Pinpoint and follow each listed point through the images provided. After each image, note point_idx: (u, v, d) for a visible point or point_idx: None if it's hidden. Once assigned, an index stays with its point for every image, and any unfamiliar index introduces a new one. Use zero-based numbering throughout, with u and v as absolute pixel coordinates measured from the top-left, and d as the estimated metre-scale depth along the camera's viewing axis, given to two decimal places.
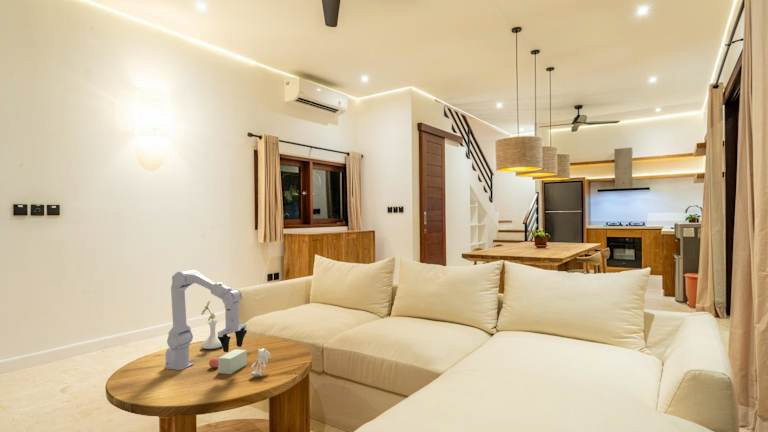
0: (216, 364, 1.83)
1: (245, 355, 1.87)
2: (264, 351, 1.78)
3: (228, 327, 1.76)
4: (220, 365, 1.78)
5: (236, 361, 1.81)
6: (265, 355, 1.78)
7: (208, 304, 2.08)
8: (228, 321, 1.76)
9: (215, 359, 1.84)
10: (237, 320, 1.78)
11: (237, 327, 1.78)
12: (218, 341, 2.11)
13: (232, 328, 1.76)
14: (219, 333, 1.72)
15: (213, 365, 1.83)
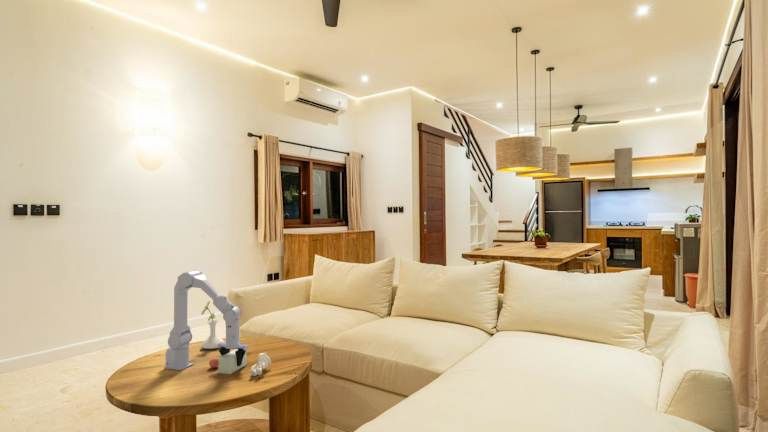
0: (216, 364, 1.83)
1: (245, 355, 1.87)
2: (264, 354, 1.81)
3: None
4: (220, 365, 1.78)
5: (236, 361, 1.81)
6: (265, 358, 1.81)
7: (208, 304, 2.08)
8: None
9: (215, 359, 1.84)
10: (228, 338, 1.80)
11: (228, 344, 1.80)
12: (218, 341, 2.11)
13: (226, 344, 1.82)
14: None
15: (213, 365, 1.83)
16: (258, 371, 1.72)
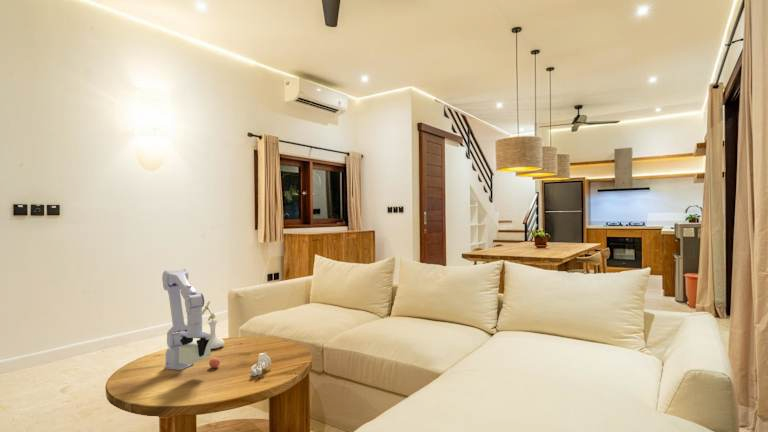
0: (216, 364, 1.83)
1: (209, 345, 1.77)
2: (264, 354, 1.81)
3: None
4: (180, 355, 1.68)
5: (198, 351, 1.71)
6: (265, 358, 1.81)
7: (208, 304, 2.08)
8: None
9: (215, 359, 1.84)
10: (190, 326, 1.70)
11: (190, 333, 1.70)
12: (218, 341, 2.11)
13: (187, 333, 1.72)
14: None
15: (213, 365, 1.83)
16: (258, 371, 1.72)
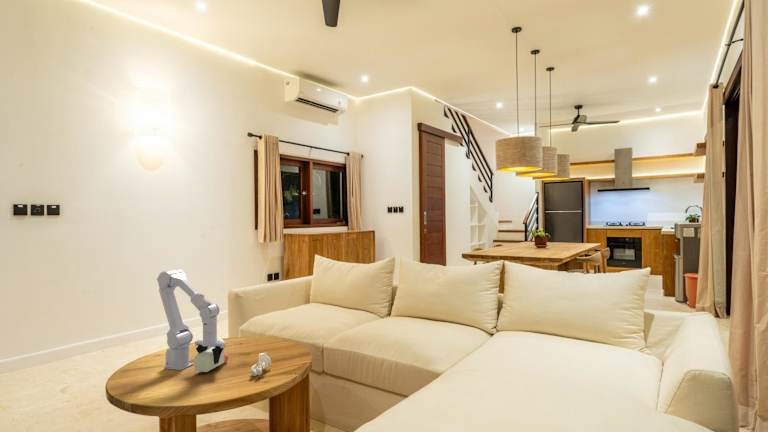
0: None
1: (223, 353, 1.86)
2: (264, 354, 1.81)
3: None
4: (196, 363, 1.77)
5: (213, 359, 1.79)
6: (265, 358, 1.81)
7: None
8: None
9: None
10: (205, 335, 1.79)
11: (205, 342, 1.79)
12: None
13: (202, 341, 1.80)
14: None
15: None
16: (258, 371, 1.72)
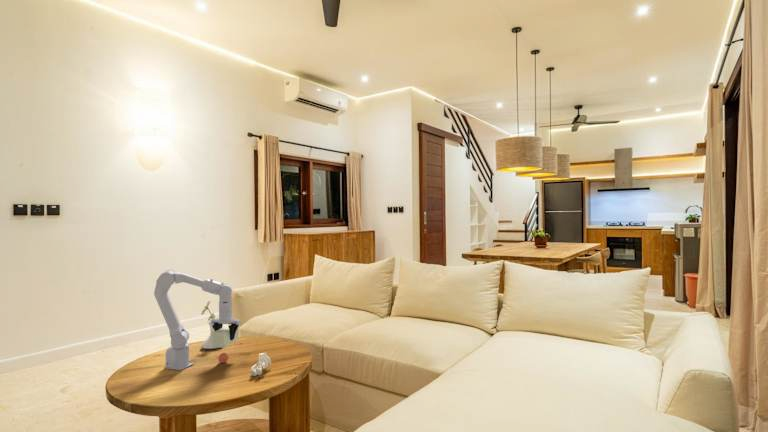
0: None
1: (237, 330, 1.96)
2: (264, 354, 1.81)
3: None
4: (214, 340, 1.87)
5: (229, 336, 1.90)
6: (265, 358, 1.81)
7: (208, 304, 2.08)
8: None
9: None
10: (222, 313, 1.89)
11: (222, 320, 1.89)
12: None
13: (219, 319, 1.91)
14: None
15: None
16: (258, 371, 1.72)
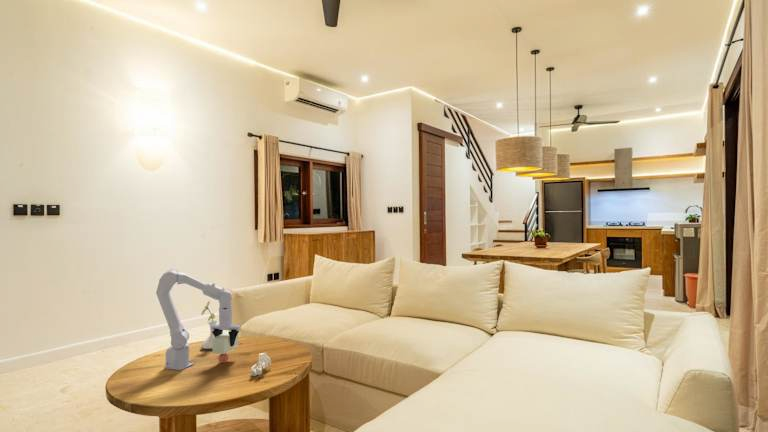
0: None
1: (237, 336, 1.96)
2: (264, 354, 1.81)
3: None
4: (214, 346, 1.87)
5: (229, 342, 1.90)
6: (265, 358, 1.81)
7: (208, 304, 2.08)
8: None
9: None
10: (222, 319, 1.89)
11: (222, 326, 1.89)
12: None
13: (219, 325, 1.91)
14: None
15: None
16: (258, 371, 1.72)
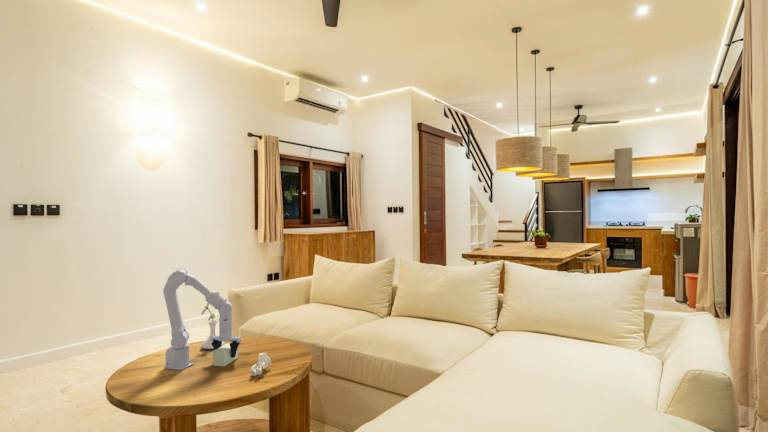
0: None
1: (237, 348, 1.96)
2: (264, 354, 1.81)
3: None
4: (214, 358, 1.87)
5: (229, 354, 1.90)
6: (265, 358, 1.81)
7: (208, 304, 2.08)
8: None
9: None
10: (222, 331, 1.89)
11: (222, 337, 1.89)
12: None
13: (219, 337, 1.91)
14: None
15: None
16: (258, 371, 1.72)
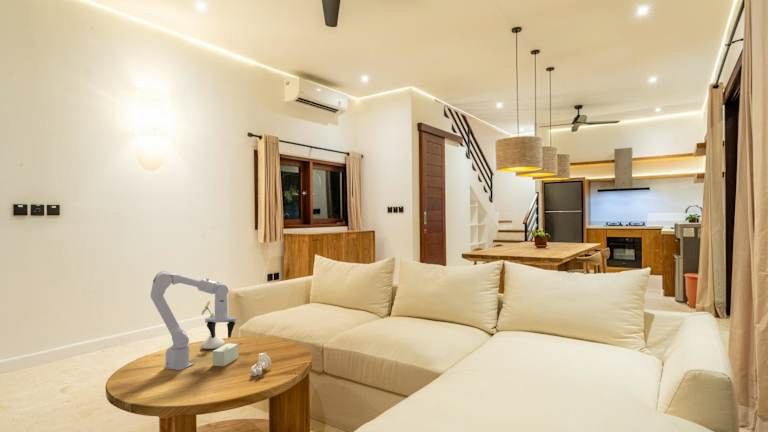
0: None
1: (237, 348, 1.96)
2: (264, 354, 1.81)
3: None
4: (214, 358, 1.87)
5: (229, 354, 1.90)
6: (265, 358, 1.81)
7: (208, 304, 2.08)
8: None
9: None
10: (219, 312, 1.92)
11: (219, 318, 1.92)
12: (218, 341, 2.11)
13: (215, 318, 1.93)
14: None
15: None
16: (258, 371, 1.72)
